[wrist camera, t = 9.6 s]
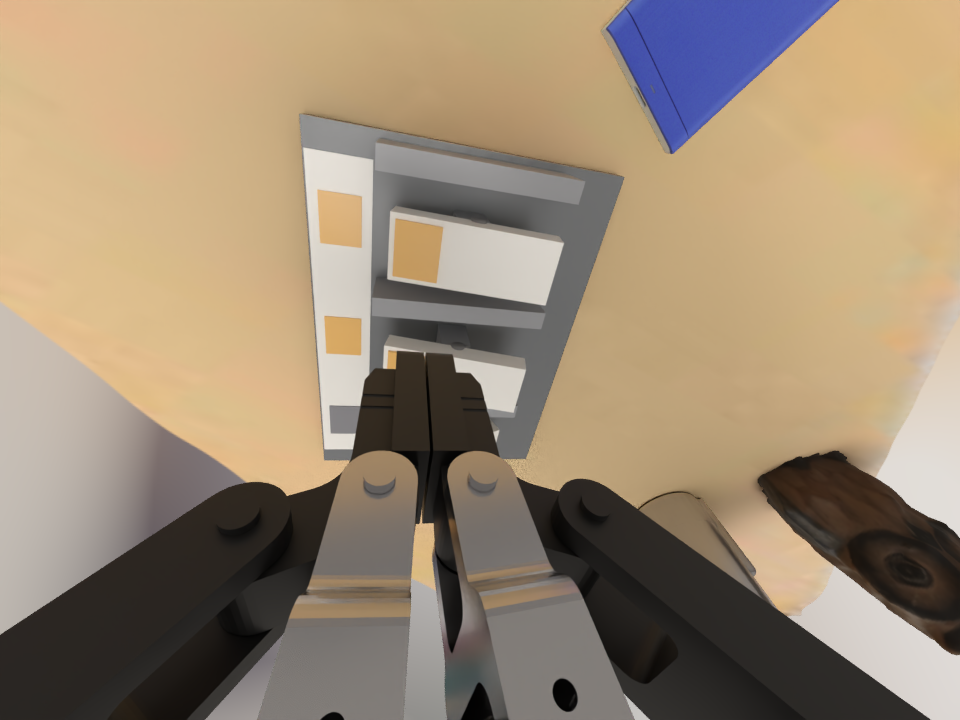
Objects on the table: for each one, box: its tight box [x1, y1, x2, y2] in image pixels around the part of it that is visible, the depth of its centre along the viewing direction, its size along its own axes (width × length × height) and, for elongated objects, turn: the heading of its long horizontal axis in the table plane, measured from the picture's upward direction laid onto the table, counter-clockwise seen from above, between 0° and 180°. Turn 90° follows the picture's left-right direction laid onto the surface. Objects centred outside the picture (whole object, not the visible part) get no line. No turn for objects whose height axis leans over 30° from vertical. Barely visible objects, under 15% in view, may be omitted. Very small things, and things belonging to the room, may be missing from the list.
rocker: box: [387, 206, 564, 306], centre depth 20 cm, size 9×4×2 cm, turn 80°
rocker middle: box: [383, 335, 526, 413], centre depth 25 cm, size 9×4×2 cm, turn 80°
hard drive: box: [601, 0, 839, 154], centre depth 20 cm, size 2×8×12 cm
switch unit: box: [299, 114, 624, 460], centre depth 27 cm, size 19×26×4 cm
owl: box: [758, 451, 960, 655], centre depth 42 cm, size 13×13×20 cm
